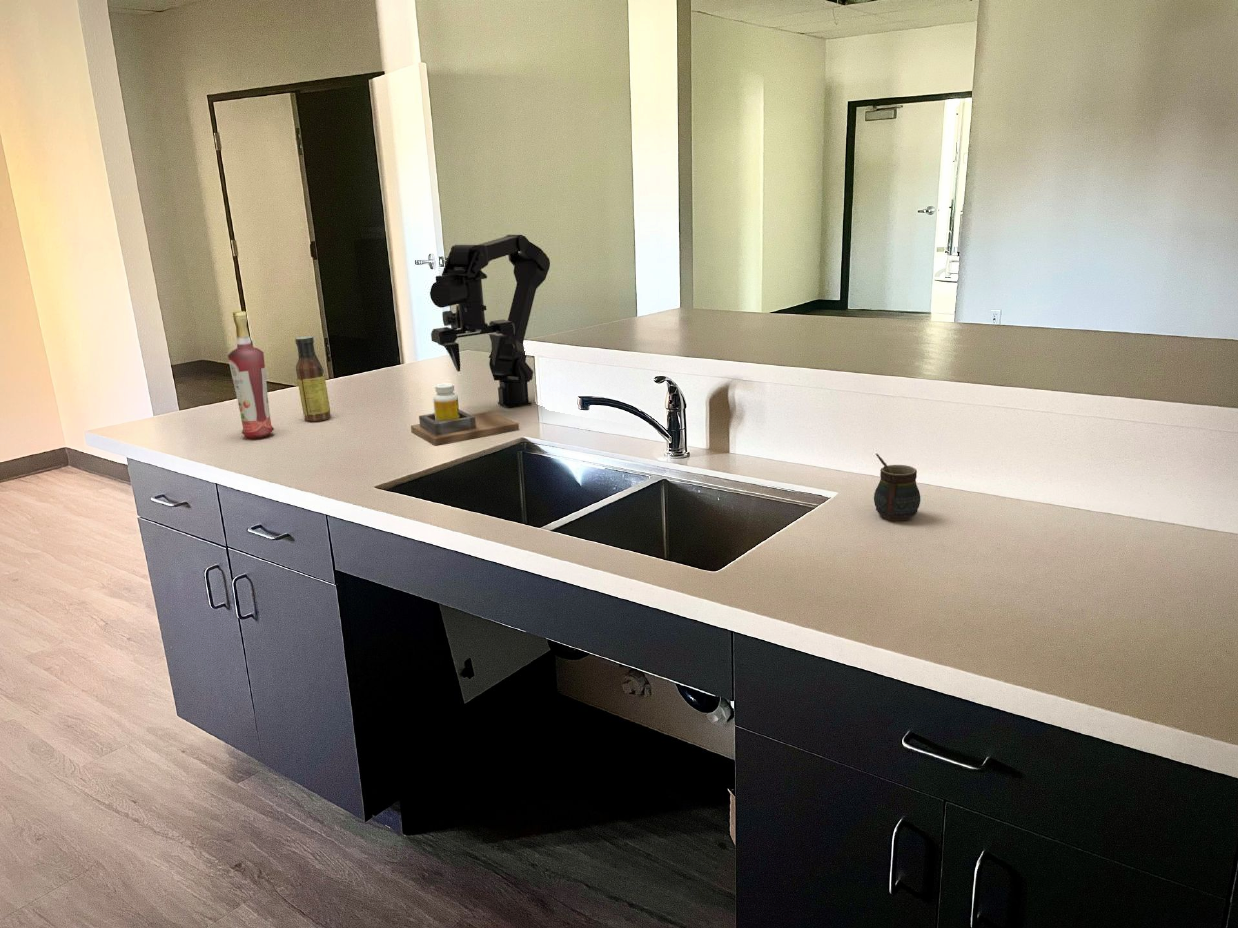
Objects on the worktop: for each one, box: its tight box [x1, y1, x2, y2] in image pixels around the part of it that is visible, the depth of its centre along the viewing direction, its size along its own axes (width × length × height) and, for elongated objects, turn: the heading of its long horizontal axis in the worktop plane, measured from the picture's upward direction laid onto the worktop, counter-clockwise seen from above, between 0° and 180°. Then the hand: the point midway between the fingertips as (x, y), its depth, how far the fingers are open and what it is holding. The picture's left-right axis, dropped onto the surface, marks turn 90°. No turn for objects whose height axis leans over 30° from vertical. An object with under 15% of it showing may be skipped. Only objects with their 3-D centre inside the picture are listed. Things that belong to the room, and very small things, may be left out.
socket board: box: [410, 409, 520, 447], centre depth 202 cm, size 20×14×4 cm
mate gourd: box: [873, 453, 921, 522], centre depth 144 cm, size 7×8×10 cm
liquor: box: [227, 310, 275, 440], centre depth 200 cm, size 7×7×28 cm
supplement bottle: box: [432, 382, 460, 422], centre depth 199 cm, size 5×5×10 cm
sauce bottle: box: [294, 335, 331, 422], centre depth 214 cm, size 6×6×20 cm
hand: (476, 368), depth 210 cm, fingers open, 9 cm apart
